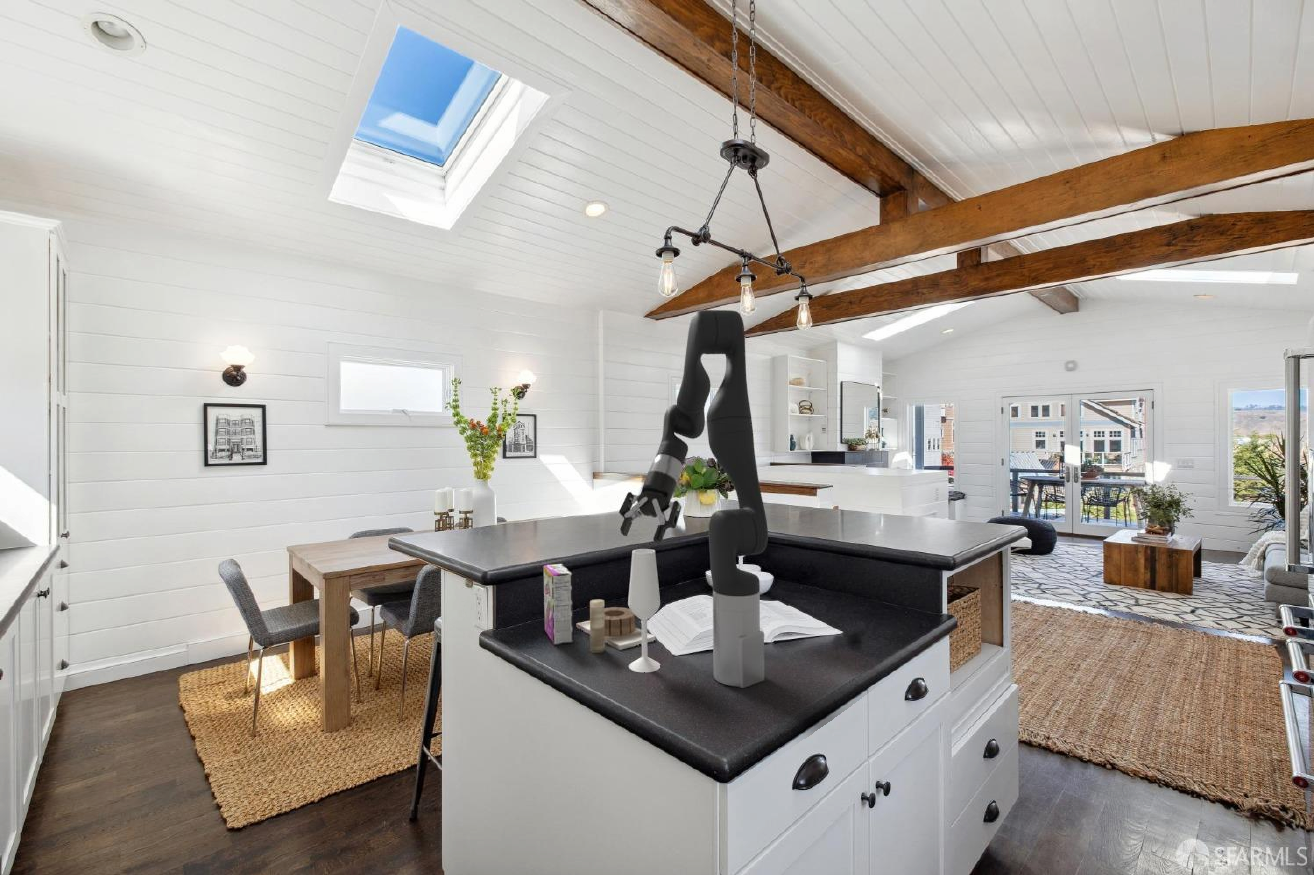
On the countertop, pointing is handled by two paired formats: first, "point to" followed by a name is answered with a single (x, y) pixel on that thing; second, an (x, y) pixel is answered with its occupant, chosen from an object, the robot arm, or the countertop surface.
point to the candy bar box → (558, 603)
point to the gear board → (619, 628)
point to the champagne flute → (644, 600)
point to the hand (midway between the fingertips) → (639, 538)
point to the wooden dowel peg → (597, 626)
